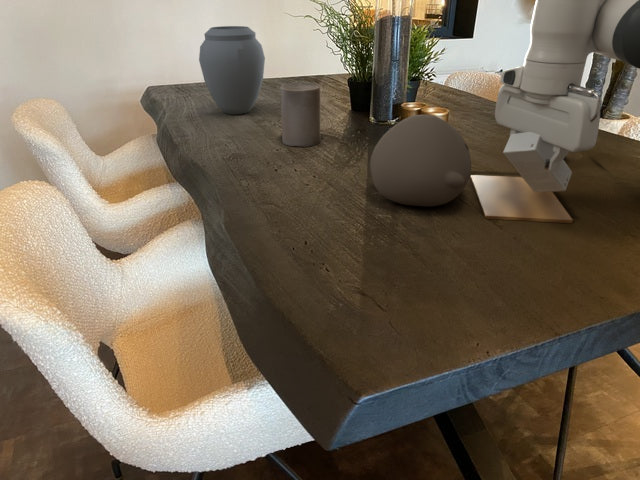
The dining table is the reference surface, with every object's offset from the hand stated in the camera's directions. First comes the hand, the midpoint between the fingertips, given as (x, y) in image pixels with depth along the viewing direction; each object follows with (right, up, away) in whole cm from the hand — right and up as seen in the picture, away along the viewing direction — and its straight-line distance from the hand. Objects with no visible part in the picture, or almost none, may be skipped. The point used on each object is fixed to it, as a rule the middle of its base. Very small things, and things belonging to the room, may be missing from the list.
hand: (533, 162), depth 84 cm
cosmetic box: (+5, -3, +4) cm, 7 cm away
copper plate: (-1, -6, +6) cm, 8 cm away
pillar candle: (-42, +11, +40) cm, 59 cm away
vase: (-63, +27, +69) cm, 97 cm away
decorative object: (-19, -5, +8) cm, 21 cm away
